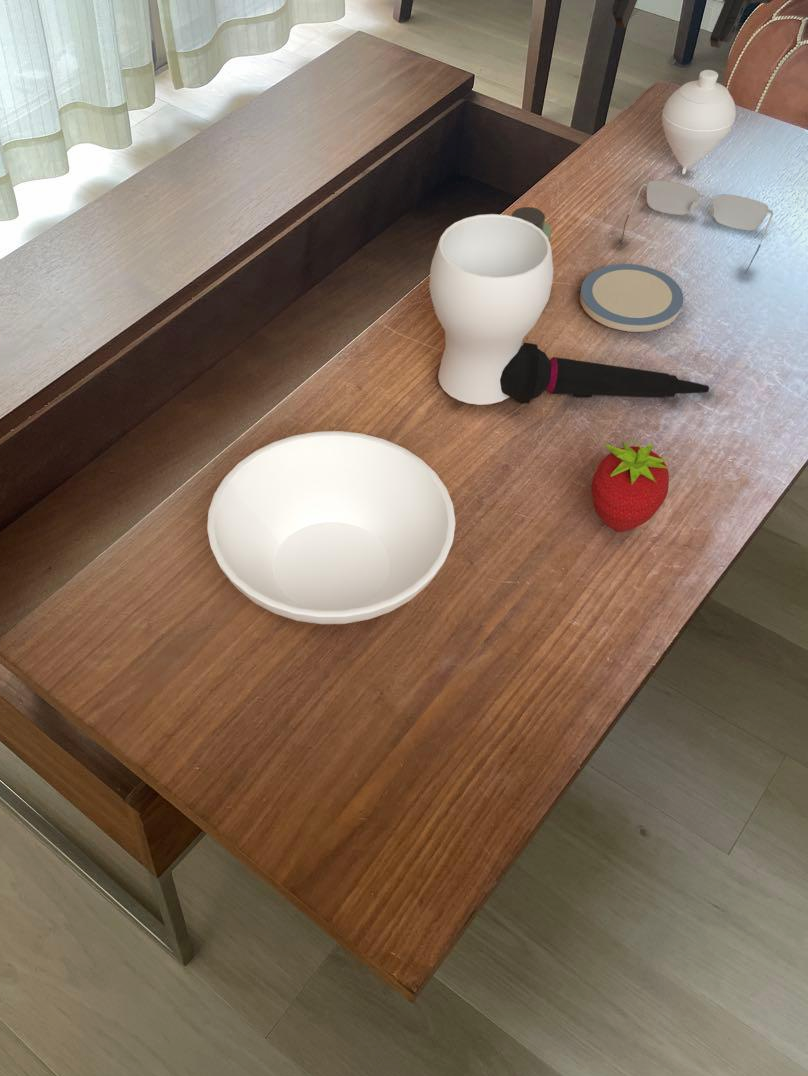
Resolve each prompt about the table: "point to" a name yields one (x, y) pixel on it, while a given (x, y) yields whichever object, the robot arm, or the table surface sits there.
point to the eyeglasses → (724, 207)
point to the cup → (487, 299)
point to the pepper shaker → (533, 218)
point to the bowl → (331, 526)
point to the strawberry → (629, 486)
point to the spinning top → (698, 118)
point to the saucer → (631, 297)
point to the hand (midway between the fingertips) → (666, 33)
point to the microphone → (584, 378)
